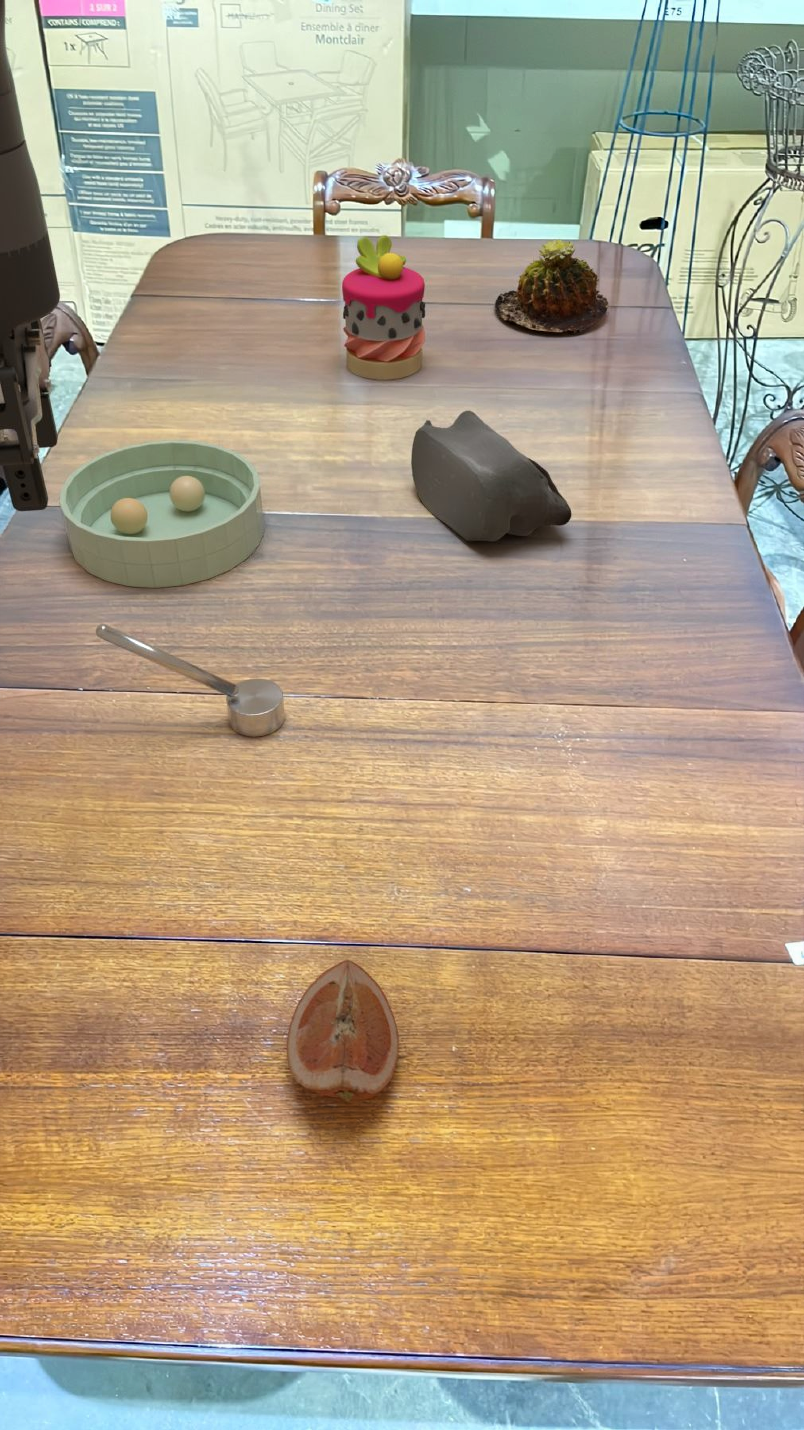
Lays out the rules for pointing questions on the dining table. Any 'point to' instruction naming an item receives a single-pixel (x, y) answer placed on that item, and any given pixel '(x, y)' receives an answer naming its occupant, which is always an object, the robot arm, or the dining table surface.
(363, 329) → the cake
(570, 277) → the cactus
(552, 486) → the rock
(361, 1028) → the fruit slice
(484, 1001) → the dining table surface
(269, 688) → the ladle
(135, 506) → the dumpling
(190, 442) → the bowl
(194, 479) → the dumpling
